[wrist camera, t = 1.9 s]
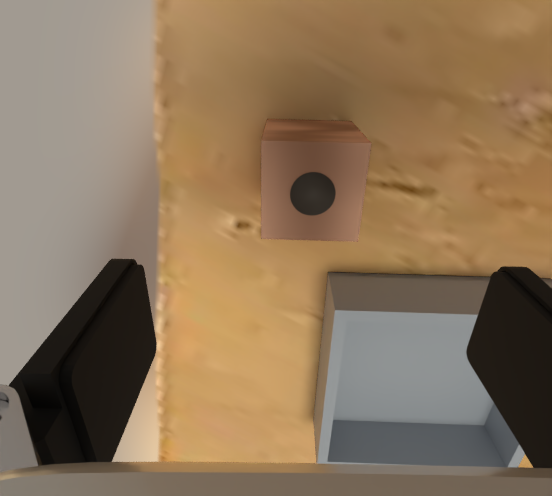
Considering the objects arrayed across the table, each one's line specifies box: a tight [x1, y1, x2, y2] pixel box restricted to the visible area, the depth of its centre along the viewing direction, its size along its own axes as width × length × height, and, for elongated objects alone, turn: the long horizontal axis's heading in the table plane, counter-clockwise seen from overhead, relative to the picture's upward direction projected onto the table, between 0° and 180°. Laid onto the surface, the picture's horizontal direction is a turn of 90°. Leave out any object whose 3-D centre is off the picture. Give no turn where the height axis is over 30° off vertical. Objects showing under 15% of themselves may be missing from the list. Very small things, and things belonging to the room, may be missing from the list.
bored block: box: [261, 119, 371, 242], centre depth 21 cm, size 5×5×6 cm
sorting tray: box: [313, 272, 552, 467], centre depth 29 cm, size 16×16×4 cm
